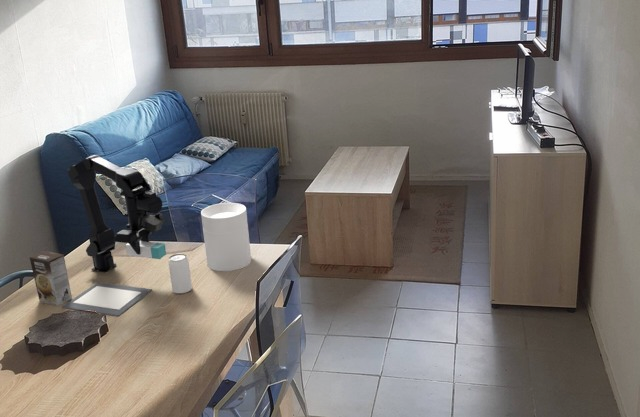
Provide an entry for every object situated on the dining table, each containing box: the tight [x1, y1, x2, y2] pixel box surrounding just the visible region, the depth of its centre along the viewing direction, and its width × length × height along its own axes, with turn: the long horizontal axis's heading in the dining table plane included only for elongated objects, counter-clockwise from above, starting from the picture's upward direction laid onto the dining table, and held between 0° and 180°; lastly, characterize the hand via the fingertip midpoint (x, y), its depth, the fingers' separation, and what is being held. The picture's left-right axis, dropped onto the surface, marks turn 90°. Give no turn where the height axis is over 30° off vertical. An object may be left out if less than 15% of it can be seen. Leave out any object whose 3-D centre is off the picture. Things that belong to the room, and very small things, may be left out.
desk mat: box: [61, 281, 153, 317], centre depth 209 cm, size 22×18×1 cm
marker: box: [125, 240, 167, 260], centre depth 216 cm, size 13×4×4 cm, turn 70°
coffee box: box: [29, 250, 73, 307], centre depth 208 cm, size 9×6×16 cm
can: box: [168, 253, 193, 295], centre depth 211 cm, size 6×6×12 cm
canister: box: [200, 202, 252, 272], centre depth 229 cm, size 16×16×20 cm
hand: (142, 251), depth 217 cm, fingers closed on marker, 4 cm apart
